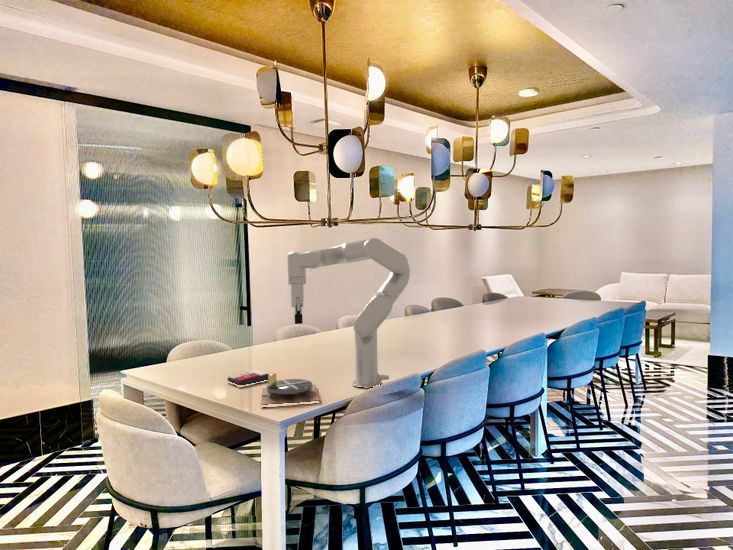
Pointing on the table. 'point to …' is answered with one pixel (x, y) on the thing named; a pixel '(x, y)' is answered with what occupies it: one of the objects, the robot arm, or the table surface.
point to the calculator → (248, 377)
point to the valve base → (289, 397)
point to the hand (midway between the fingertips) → (298, 323)
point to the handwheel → (287, 386)
